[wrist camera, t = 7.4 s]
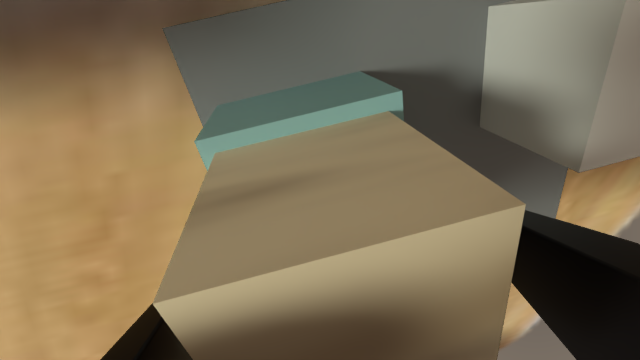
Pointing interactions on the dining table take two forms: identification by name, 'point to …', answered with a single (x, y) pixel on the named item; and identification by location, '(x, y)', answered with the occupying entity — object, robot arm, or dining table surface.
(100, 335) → the dining table surface
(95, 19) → the dining table surface
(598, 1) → the grey cube
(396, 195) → the oak cube
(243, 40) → the charcoal mat
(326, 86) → the teal block
